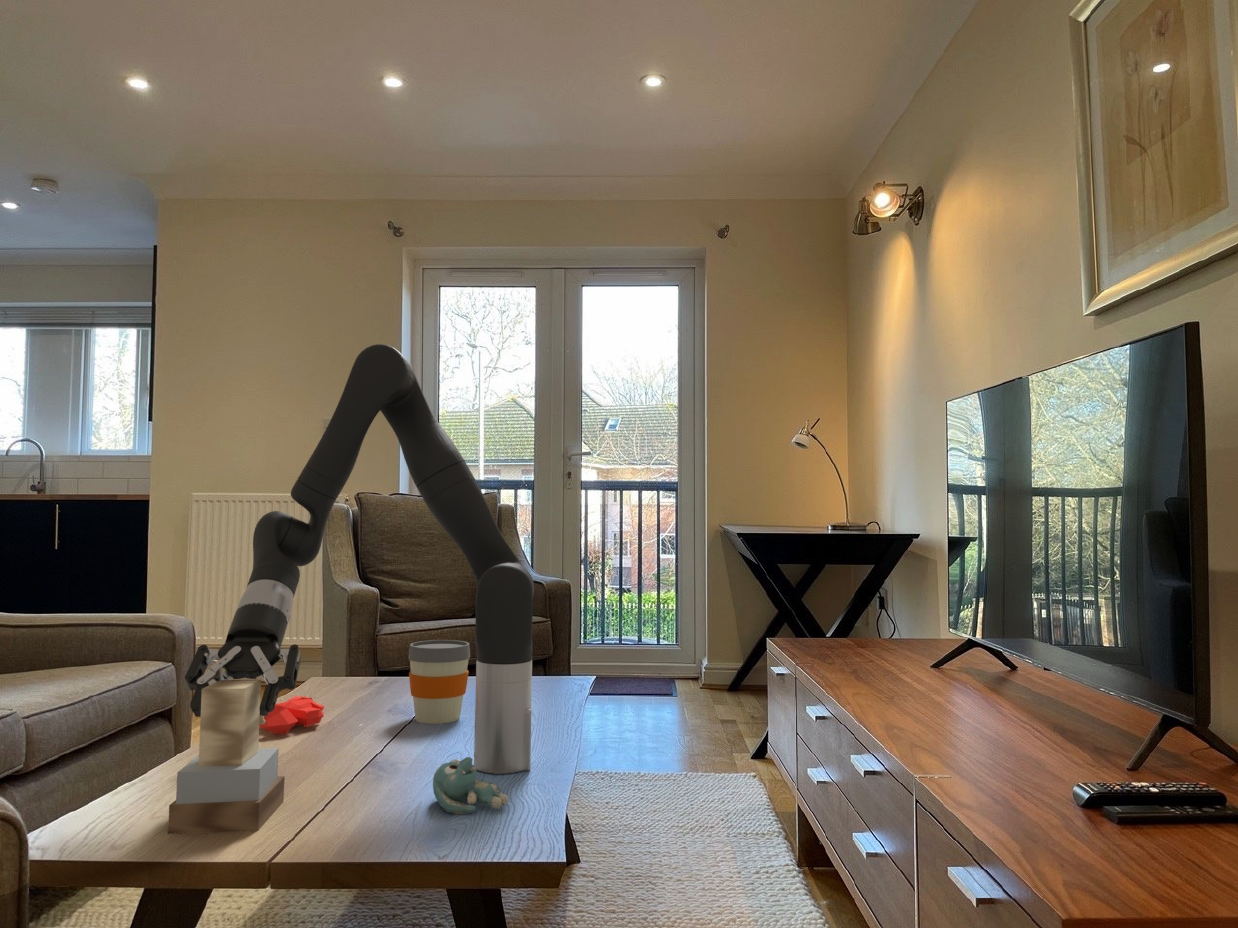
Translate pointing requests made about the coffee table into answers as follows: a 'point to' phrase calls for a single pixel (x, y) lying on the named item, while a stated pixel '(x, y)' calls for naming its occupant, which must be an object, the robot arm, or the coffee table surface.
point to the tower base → (226, 813)
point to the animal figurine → (293, 715)
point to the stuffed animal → (464, 788)
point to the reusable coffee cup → (438, 679)
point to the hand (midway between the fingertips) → (230, 713)
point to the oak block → (229, 722)
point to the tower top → (227, 780)
